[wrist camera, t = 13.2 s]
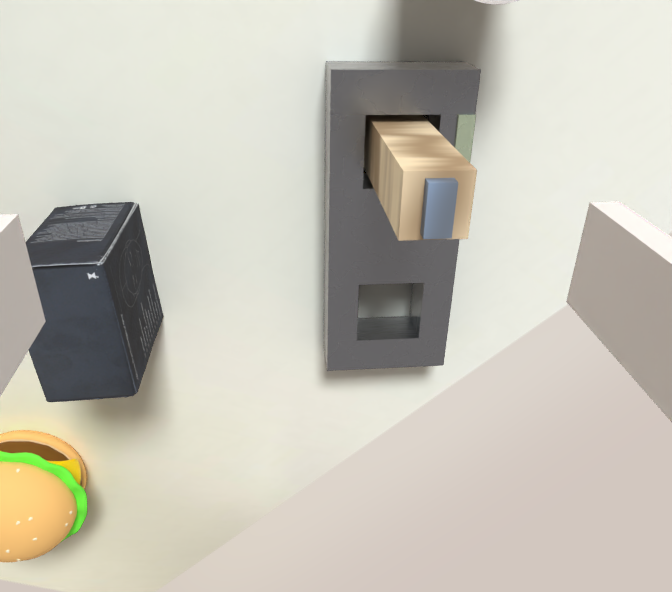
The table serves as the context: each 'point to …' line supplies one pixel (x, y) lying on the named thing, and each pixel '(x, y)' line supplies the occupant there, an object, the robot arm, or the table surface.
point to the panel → (371, 220)
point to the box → (93, 302)
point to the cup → (496, 1)
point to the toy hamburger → (38, 494)
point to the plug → (418, 178)
